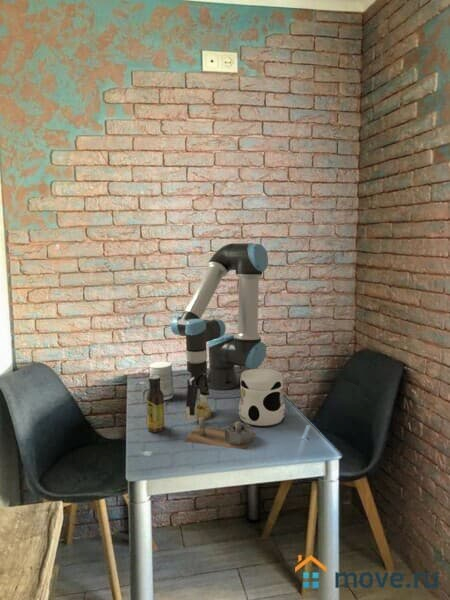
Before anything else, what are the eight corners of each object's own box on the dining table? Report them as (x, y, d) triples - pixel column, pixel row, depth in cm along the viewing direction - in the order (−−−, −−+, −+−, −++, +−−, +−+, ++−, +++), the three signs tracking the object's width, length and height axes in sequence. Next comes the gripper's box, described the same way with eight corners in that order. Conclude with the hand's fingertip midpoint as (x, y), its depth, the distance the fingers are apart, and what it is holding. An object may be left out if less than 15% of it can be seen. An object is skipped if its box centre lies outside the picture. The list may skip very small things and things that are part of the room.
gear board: (196, 429, 164) (196, 410, 163) (256, 436, 157) (255, 416, 156) (183, 444, 152) (182, 424, 151) (247, 452, 146) (246, 431, 145)
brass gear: (192, 411, 179) (192, 402, 179) (213, 414, 177) (213, 404, 176) (184, 420, 171) (183, 410, 171) (205, 423, 169) (205, 412, 168)
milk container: (231, 416, 174) (230, 370, 172) (272, 409, 181) (272, 365, 178) (250, 434, 158) (249, 384, 156) (294, 426, 165) (294, 378, 162)
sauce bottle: (145, 427, 166) (143, 375, 163) (162, 424, 168) (159, 372, 165) (150, 434, 160) (147, 380, 157) (167, 431, 163) (164, 377, 160)
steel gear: (230, 432, 158) (230, 421, 157) (254, 435, 155) (254, 424, 155) (222, 443, 150) (222, 432, 149) (247, 446, 147) (247, 435, 147)
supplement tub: (177, 398, 195) (176, 364, 193) (157, 403, 190) (155, 369, 187) (167, 391, 203) (165, 359, 201) (147, 396, 198) (145, 363, 195)
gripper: (198, 352, 182) (200, 404, 186) (175, 368, 161) (177, 428, 164) (216, 353, 180) (217, 406, 183) (194, 370, 159) (197, 430, 162)
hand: (198, 416), depth 174 cm, fingers open, 10 cm apart
